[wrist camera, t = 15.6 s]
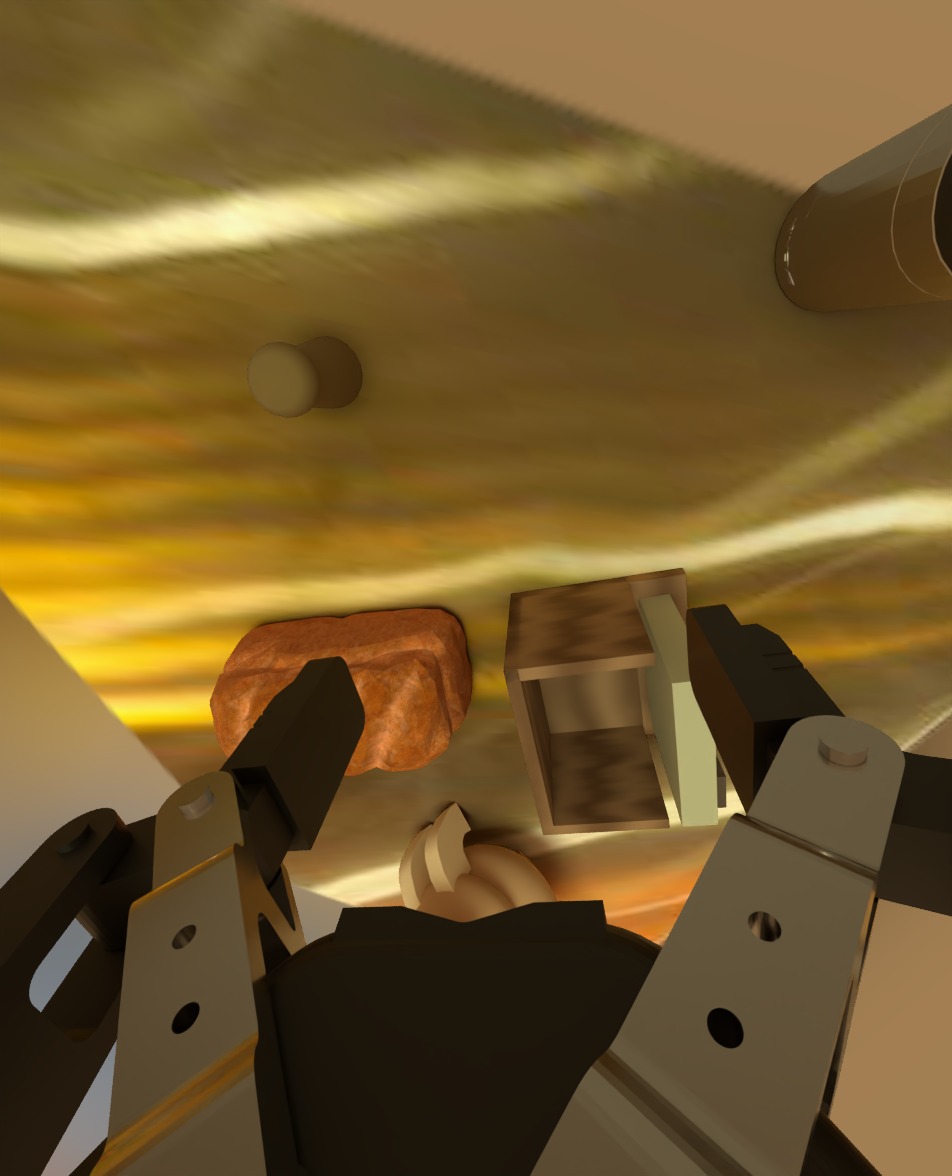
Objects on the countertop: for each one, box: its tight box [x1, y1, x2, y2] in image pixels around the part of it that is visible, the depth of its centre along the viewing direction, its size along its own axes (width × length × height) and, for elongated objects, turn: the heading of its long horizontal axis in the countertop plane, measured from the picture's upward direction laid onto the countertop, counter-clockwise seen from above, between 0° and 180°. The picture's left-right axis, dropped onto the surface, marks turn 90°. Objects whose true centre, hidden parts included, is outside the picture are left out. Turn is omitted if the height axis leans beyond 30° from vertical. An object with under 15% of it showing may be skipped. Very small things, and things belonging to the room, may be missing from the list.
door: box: [639, 594, 718, 827], centre depth 47 cm, size 4×16×14 cm, turn 13°
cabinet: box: [504, 568, 726, 835], centre depth 50 cm, size 18×20×14 cm
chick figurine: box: [399, 803, 557, 922], centre depth 62 cm, size 30×28×23 cm
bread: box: [210, 608, 472, 776], centre depth 53 cm, size 14×26×16 cm, turn 100°
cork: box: [247, 337, 362, 418], centre depth 41 cm, size 6×6×11 cm
